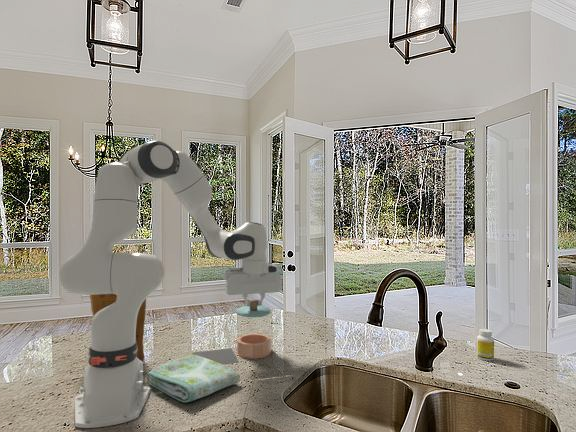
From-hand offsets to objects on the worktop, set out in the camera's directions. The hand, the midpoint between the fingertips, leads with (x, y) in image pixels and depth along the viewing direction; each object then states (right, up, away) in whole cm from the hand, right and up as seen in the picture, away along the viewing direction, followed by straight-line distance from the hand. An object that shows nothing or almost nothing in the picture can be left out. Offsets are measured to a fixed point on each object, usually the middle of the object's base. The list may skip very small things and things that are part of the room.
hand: (253, 305), depth 139 cm
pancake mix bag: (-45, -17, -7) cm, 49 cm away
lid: (0, -2, 0) cm, 2 cm away
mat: (-13, -17, -6) cm, 22 cm away
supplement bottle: (+81, -18, -3) cm, 83 cm away
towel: (-15, -17, -27) cm, 35 cm away
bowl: (0, -17, 0) cm, 17 cm away
